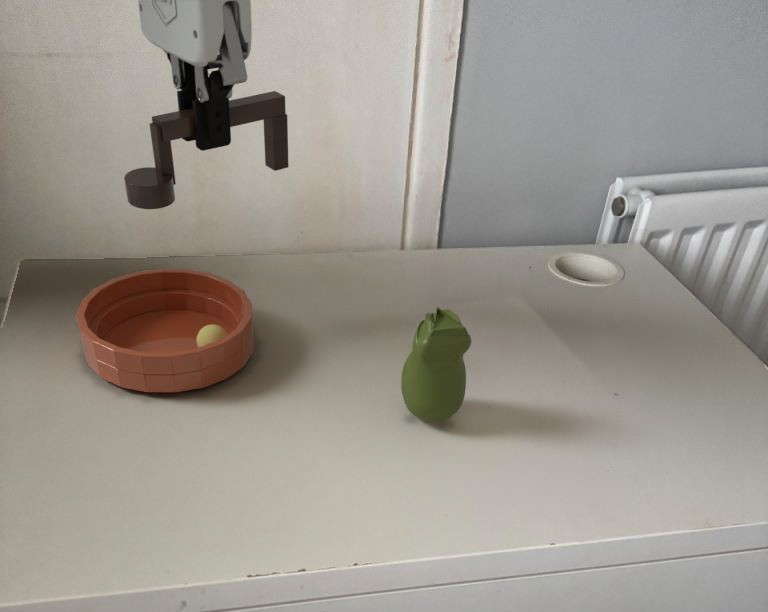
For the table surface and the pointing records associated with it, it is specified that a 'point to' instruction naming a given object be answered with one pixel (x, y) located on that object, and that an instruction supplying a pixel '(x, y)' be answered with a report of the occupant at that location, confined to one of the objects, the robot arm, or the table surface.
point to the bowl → (165, 329)
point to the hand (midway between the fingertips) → (206, 140)
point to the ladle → (158, 183)
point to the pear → (436, 367)
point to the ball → (210, 334)
